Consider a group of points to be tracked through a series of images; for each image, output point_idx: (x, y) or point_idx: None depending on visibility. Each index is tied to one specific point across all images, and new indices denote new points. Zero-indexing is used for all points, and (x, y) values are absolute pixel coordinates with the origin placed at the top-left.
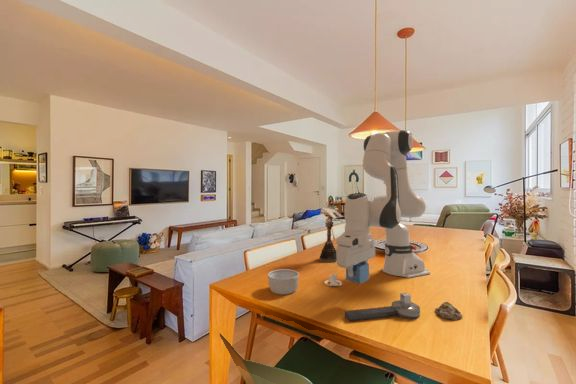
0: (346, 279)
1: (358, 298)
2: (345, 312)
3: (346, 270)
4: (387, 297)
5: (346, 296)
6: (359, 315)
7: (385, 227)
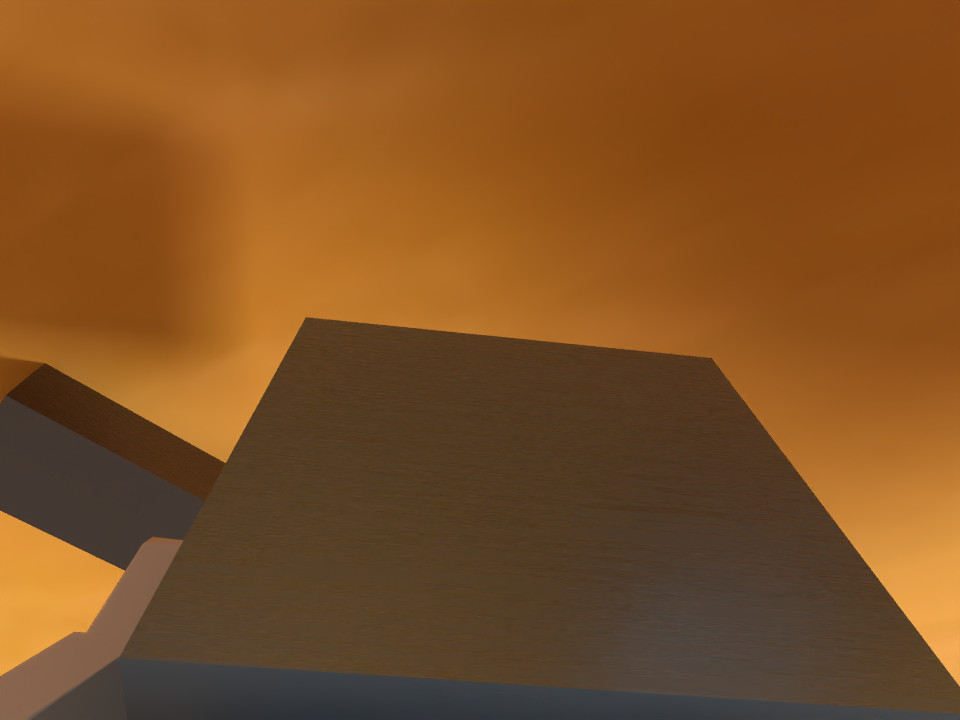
0: (305, 332)
1: (633, 241)
2: (4, 404)
3: (231, 473)
4: (857, 484)
5: (598, 60)
6: (82, 542)
7: None
